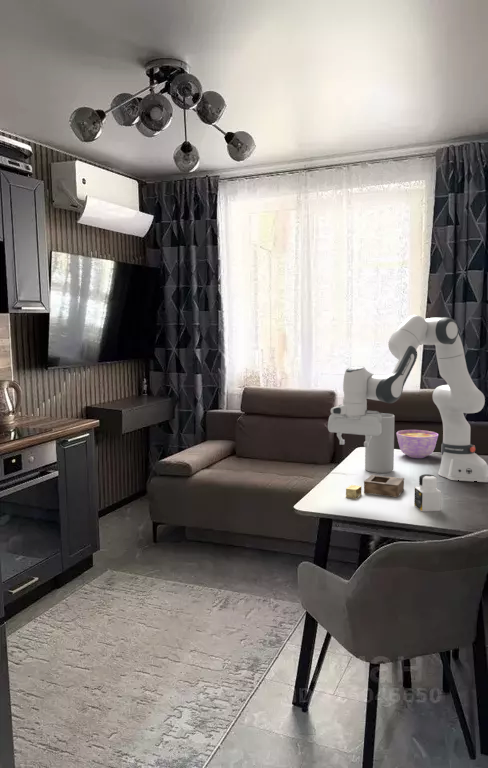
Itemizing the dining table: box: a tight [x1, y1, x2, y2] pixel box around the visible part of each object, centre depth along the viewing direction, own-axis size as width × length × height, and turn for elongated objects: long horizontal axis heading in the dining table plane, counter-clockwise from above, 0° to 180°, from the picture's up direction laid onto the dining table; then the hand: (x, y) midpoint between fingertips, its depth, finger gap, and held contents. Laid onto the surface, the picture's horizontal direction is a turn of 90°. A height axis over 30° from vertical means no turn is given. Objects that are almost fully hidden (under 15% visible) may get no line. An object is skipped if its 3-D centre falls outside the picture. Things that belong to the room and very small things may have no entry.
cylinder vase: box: [364, 412, 395, 474], centre depth 262 cm, size 12×12×25 cm
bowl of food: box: [395, 429, 439, 459], centre depth 289 cm, size 20×20×12 cm
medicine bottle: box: [413, 474, 442, 513], centre depth 208 cm, size 7×7×12 cm
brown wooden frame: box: [363, 474, 405, 498], centre depth 229 cm, size 13×11×5 cm
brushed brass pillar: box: [345, 484, 362, 500], centre depth 224 cm, size 4×6×4 cm, turn 149°
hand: (354, 445), depth 222 cm, fingers open, 8 cm apart
